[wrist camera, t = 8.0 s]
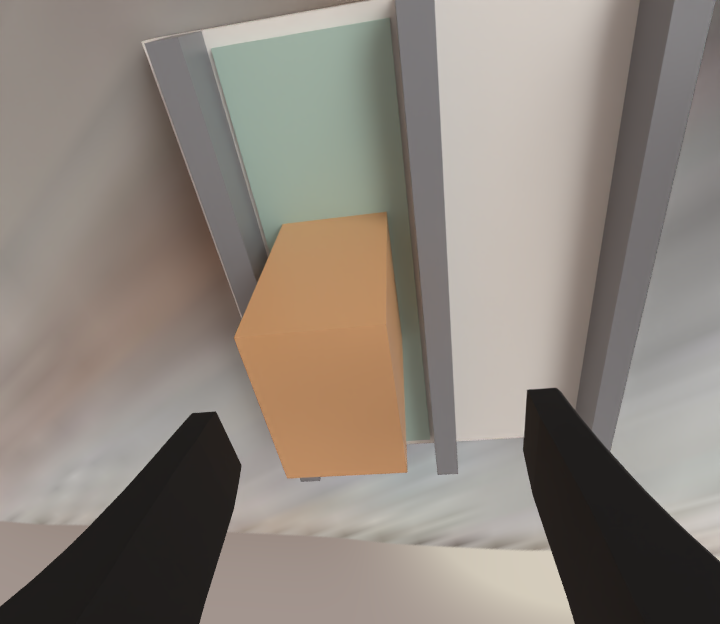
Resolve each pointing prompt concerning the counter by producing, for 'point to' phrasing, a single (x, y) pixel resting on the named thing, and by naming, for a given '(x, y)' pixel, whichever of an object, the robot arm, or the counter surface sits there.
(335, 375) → the orange block
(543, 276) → the slot rack
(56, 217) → the counter surface
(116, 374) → the counter surface
